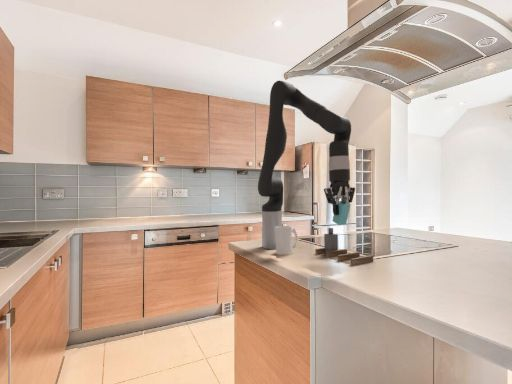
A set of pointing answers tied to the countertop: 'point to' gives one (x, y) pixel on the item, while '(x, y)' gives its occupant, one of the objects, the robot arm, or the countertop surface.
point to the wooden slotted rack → (344, 256)
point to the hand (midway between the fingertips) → (340, 214)
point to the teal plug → (342, 212)
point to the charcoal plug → (330, 241)
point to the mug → (285, 240)
